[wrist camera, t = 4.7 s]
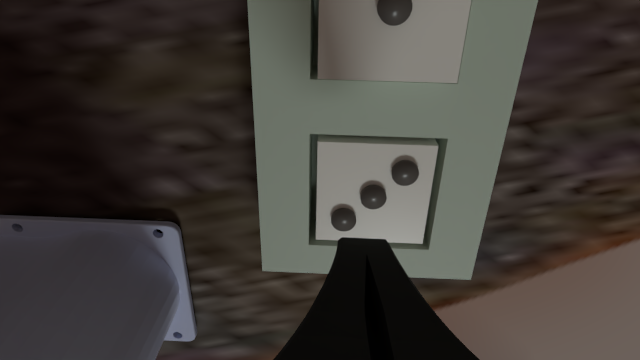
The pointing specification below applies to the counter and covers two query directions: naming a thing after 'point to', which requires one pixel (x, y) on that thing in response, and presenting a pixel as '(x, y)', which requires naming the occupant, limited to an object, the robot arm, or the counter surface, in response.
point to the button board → (380, 132)
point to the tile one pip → (392, 39)
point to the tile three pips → (374, 187)
